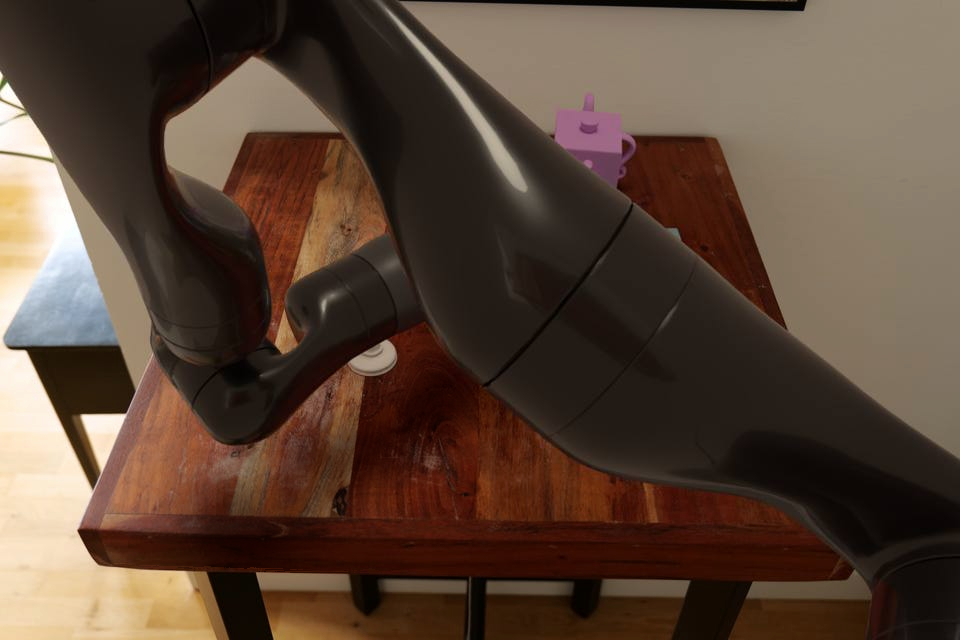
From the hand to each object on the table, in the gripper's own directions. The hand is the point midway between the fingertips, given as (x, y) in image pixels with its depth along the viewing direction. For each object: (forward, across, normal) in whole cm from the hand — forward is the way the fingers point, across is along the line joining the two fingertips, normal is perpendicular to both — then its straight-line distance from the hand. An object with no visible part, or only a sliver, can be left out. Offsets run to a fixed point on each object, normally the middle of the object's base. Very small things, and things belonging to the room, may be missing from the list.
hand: (562, 194), depth 76 cm
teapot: (+23, +17, +18) cm, 33 cm away
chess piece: (-15, +9, +18) cm, 25 cm away
